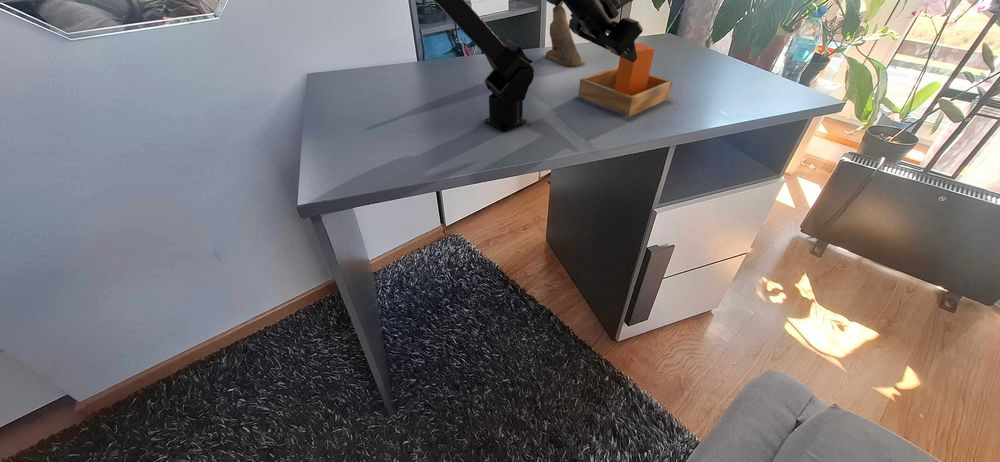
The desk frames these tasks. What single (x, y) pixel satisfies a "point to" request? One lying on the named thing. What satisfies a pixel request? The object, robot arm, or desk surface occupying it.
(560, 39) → the worn brown figurine
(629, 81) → the orange square pillar
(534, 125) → the desk surface
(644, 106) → the wooden box
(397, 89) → the desk surface
